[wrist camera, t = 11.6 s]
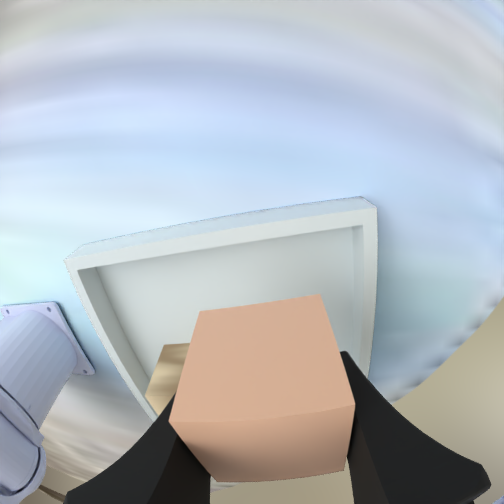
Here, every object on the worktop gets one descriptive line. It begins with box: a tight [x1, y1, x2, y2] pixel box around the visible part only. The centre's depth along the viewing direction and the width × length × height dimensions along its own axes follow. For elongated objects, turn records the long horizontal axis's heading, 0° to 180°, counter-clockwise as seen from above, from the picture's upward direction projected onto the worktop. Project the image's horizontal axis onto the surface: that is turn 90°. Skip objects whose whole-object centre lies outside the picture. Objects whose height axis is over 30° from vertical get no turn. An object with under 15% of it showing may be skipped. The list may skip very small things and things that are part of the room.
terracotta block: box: [169, 294, 355, 482], centre depth 9 cm, size 4×4×5 cm
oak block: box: [145, 343, 190, 416], centre depth 18 cm, size 4×4×5 cm
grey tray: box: [64, 196, 378, 422], centre depth 18 cm, size 18×16×2 cm
